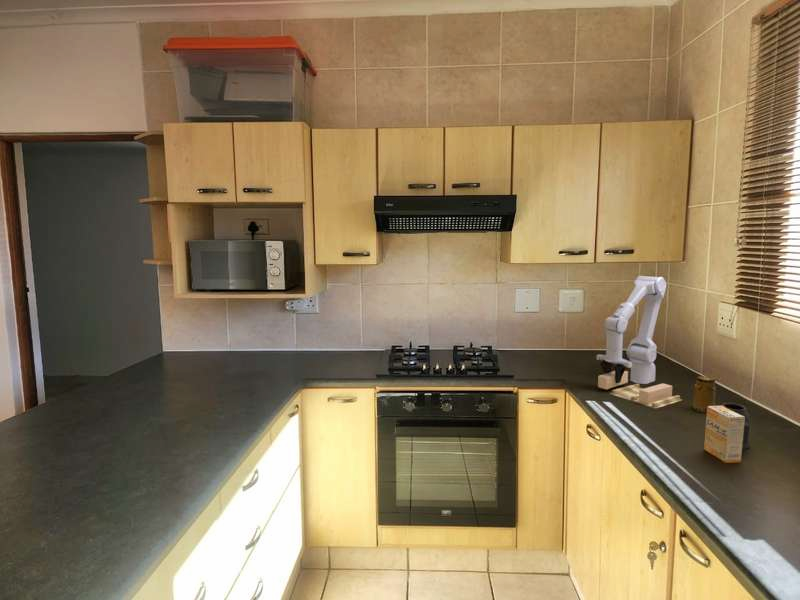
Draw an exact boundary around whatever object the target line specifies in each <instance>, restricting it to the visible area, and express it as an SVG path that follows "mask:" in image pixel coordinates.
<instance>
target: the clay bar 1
mask: <svg viewBox="0 0 800 600" xmlns="http://www.w3.org/2000/svg"><path fill="white" fill-rule="evenodd" d="M597 378H598V379H597V387H598V388H600V389H604V390H609V389H612V388H615V387H618V386H621V385H624V384H625V385H626V384H627V383H629V371H628V370H627V371H626V370H625V372H624V373H623V376H622V378H621V382H620V383H616V382H615V370H613V371H612V372H610V373H606V374H605V373H604V374H600V375H598V377H597Z"/></svg>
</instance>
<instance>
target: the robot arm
mask: <svg viewBox="0 0 800 600" xmlns="http://www.w3.org/2000/svg"><path fill="white" fill-rule="evenodd" d="M633 285H634V288H633V290H632V291H631V293H630V295H629V296H628V298H627V299H626V300H625V301H626V302H625V301H624V302H622V303H620V305H619V306H618V307H617V308H616V310H615V311H614V312H613V314H612V315H611V316H609V317H607V318H605V320H604V323H603V325H602V326H603V329H604V332H605V336H606V347H605V354H600V353H599V354H596V361H597V360H598V361H601V362H600V363H599V365H600V367H601V368H602V370H603V373H604V374H606V373H610V372H613V371H615V382H616V383H620V382H621V378H622V376H623V373H624V372H625V371H626V370H627V369H629V368H630V375H629V376H630V378H629V381H630V382H631V383H634V384H643V385H645V384H650V383H653V382H655V381H656V365H655V363H654V362H655V360H656V358H657V350H658V349H657V348H658V346H657V344H655V342H654V341H653V340H652V338H653V336H654V331H655V327H656V325H657V324H656V323H657V319H658V316H659V315H658V314H659V311H660V306H661V302H662V300H663V299H664V296H665V292H666V288H667V283H666V280H665V278H664V277H663V276H648V275H647V276H644V275H639V276H638V277H636V279H635V281H634V283H633ZM643 298H645V304H644V309H643V312H642V317H641V321H640V325H639V329H638V333H637V336H636V337H635V338H632V339H631V340H630V341H629V342H630V343H629V344H628V347H627V349H626V356H627V358H628V359H629V360H627V359H625V358H623V340H624V332H625V331H626V330H627V327H628V323H629V319H630V318H631V317H632V315H634V313H635V311H636V310H635V306H636V305H638V303H639V302H640V301H641V300H642V299H643ZM612 370H613V371H612Z"/></svg>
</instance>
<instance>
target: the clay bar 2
mask: <svg viewBox="0 0 800 600" xmlns="http://www.w3.org/2000/svg"><path fill="white" fill-rule="evenodd" d="M669 397H673V385H670V384H667V383H659V384H656V385H652V386H648V387H646V388H643V389H641V390H639V402H641V403H644V404H647V405H649V404H652V403H653V402H656V401H659V400H663V399H666V398H669Z"/></svg>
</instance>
